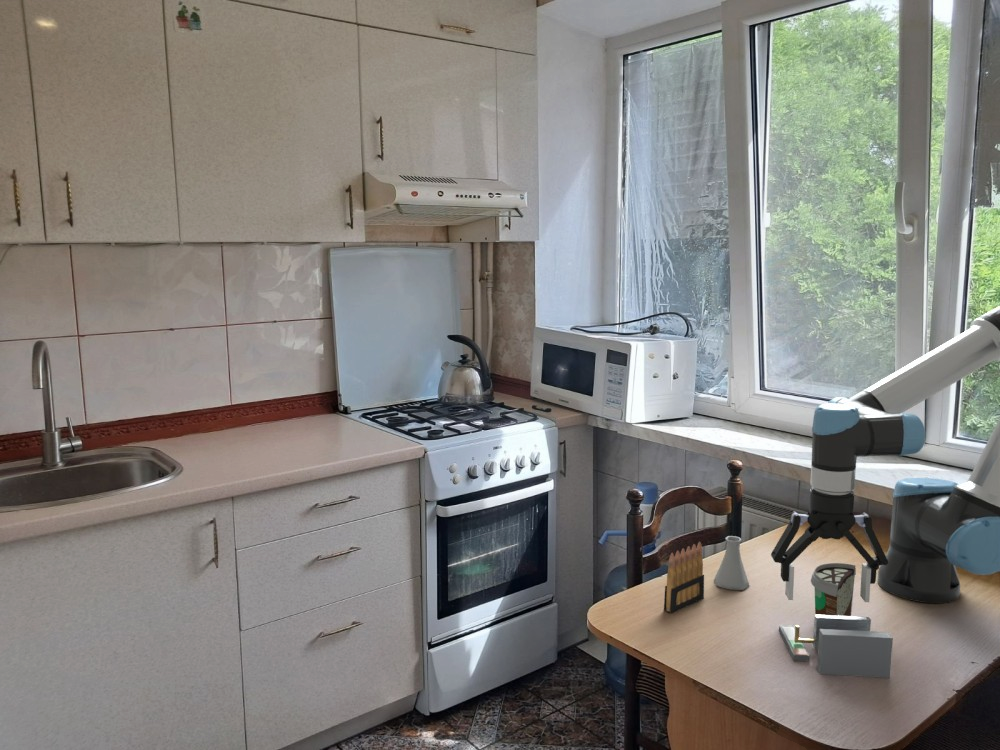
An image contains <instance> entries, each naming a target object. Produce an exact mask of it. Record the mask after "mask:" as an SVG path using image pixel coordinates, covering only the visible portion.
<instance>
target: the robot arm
mask: <svg viewBox="0 0 1000 750" xmlns="http://www.w3.org/2000/svg"><path fill="white" fill-rule="evenodd" d="M994 361H995V362H996V361H997V362H1000V305H998V306H997V307H995V308H992V309H990V310H989V311H987V312H986V313H984V314H982V315H980V316H978V317H977V318H975V319H974V320H972V321H971V322H970V326H969V329H966V330H965V331H964V332H961V333H960V334H958V335H957V336H955V337H953V338H951V339H950V340H948V341H946V342H944V343H942V344H941V345H939V346H938V347H936V348H934V349H932V350H931V351H928V352H927V353H925V354H923V355H921V356H920V357H918V358H916V359H915V360H913V361H912V362H910V363H908V364H907V365H905V366H904V367H901V368H900V369H898V370H896V371H895V372H892V373H891V374H888V376H886V377H884V378H882V379H880V380H879V381H877V382H876V383H874V384H872V385H870V386H868V387H867V388H865V389H863V390H862V391H860V392H858V393H856V394H855V395H852V396H851V397H849V396H848V397H847V396H845V397H844V396H838V397H834V398H832V399H830V400H828V402H827V403H823V404H820V405H818V406H817V407H816V408H815V409H814V414H813V419H812V420H813V421H812V426H811V427H812V428H811V433H812V435H811V436H812V438H811V439H812V440H811V442H812V443H811V467H810V470H811V471H810V486H811V488H810V489H809V505H808V506H809V509H808V511H807V514H803V513H798V512H797V511H792V512H790V517H789V523H788V524H787V525H786V528H785V529H784V531H783V533H782V534H781V536H780V538H779V539H778V541H777V543H776V545H775V546H774V548H773V549H772V552H771V554H770V555H771V558H772V560H773V561H774V563H777V564H778V563H779V564H780V579H781V580H782V581H783V582H785V590H784V591H785V596H786V598H787V599H788V601H794V586H795V585H794V583H795V582H794V581H795V580H794V579H795V566H794V564H793V562H794V561H795V560H796V559H798V557H799V556H800V555H802V553H803V552H804V551H805V550H806V549H807V548H808V547H809V546H810V545H812V543H813V542H815V541H817V540H818V539H819V538H821V539H822V540H830V539H833V540H841V539H842V538H844V537H845V538H846V539H847V541H848V542H849V543H851V545H852V546H853V548H855V550H856V551H857V552H858V553H859V554H860V556H862V558H863V559H864V561H866V562H862V563H861V573H860V574H861V575H860V577H861V578H860V598H861V599H862V600H863V602H864V603H870V594H871V585H874V584H875V583H876V581H877V583H878V585H879V586H880V588H882V589H883V590H885V591H886V592H888V593H890V594H892V595H894V596H897V597H900V598H903V599H906V600H910V601H915V602H919V603H928V604H929V603H930V604H944V603H945V604H946V603H952V602H955V601H956V600H957V599H959V598H960V595H961V594H960V593H961V581H960V578H959V574H958V571H957V567H958V568H960V569H962V570H965V571H967V572H968V573H971V574H975V575H978V576H979V575H980V576H981V575H982V576H986V575H988V576H989V575H994V574H995V573H998V572H1000V418H999V419H998V420H997V423H996V425H995V427H994V429H993V431H992V433H991V434H990V437H989V439H988V440H987V442H986V445H985V446H984V448H983V450H982V452H981V454H980V456H979V458H978V460H977V462H976V464H975V466H974V468H973V470H972V472H971V474H970V475H969V478H968V480H967V481H964V482H962V483H959V484H958V483H957V482H955V481H951V480H946V479H940V478H930V477H929V478H927V477H908V478H902V479H900V480H898V481H897V482H896V483H895V486H894V489H893V494H892V499H893V500H892V509H891V510H892V511H891V521H890V522H891V524H890V536H889V537H890V538H889V546H888V550H887V552H886V554H885V551H884V549H883V547H882V546H881V543H880V541H879V539H878V537H877V535H876V534H875V531H874V529H873V521H872V519H873V518H872V517H870V515H869V514H868V513H866V512H862V513H860V514H857V515H854V511H855V510H854V507H855V492H854V490H855V488H856V470H857V469H856V467H857V458H859V457H860V458H861V457H862V458H863V457H886V456H887V457H890V456H891V457H892V456H893V457H894V456H895V457H896V456H898V457H902V456H906V455H907V456H908V455H915V454H917V453H919V452H920V451H921V450H922V449H923V447H924V445H925V442H926V428H925V426H924V423H923V421H922V419H921V418H920V417H919V416H918V415H917V414H914V413H905V412H906V411H908V410H910V409H912V408H914V406H917V405H918V404H920V403H922V402H924V401H925V400H927V399H929V398H930V397H933V396H934V395H936V394H938V393H939V392H941V391H943V390H944V389H946V388H948V387H950V386H952V385H953V384H955V383H957V382H959V381H960V380H963V379H964V378H965V377H967V376H970V374H973V373H974V372H977V371H978V370H979V369H982V368H983V367H985V366H986V365H989V364H990V363H992V362H994ZM806 522H807V523H808V525H809V526H808V527H807V528H806V529H805V531H804V533H802V535H800V536H799V537H798V539H797V540H796V541H795V542H794V543H793V544H792V545H791V543H792V541H793V540H794V538H795V536H796V535H797V533H798V531H799V529H800V527H802V526H804V523H806ZM856 523H857V525H858V526H859V527H860V528H862V531H863V532H864V534H865V536H866V538H867V540H868V542H869V545H870V546H871V549H872V551H873V553H874V556H873V557H872V556H871V555H870V553H869V552H868V551H867V549H865V548H864V546H863V545H862V544H861V542H859V540H858V539H857V538H856V537H855V536H854V534H853V533H852V532H851V531H850V530H851V529H852V528H853V527H854V525H855V524H856ZM790 545H791V546H790Z"/></svg>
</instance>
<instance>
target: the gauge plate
mask: <svg viewBox="0 0 1000 750" xmlns="http://www.w3.org/2000/svg"><path fill="white" fill-rule="evenodd" d="M871 625H872V619H871V618H870V617H869V616H854V615H851V616H836V615H815V614H814V624H813V638H805V637H802V638H801V637H800V628H801V627H800V625H798V624H795V625H794V627H795V636H794V642H795V643H803V644H812V647H813V649H814V650H815V651H818V643H819V629H832V630H853V631H871ZM799 637H800V638H799Z"/></svg>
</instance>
